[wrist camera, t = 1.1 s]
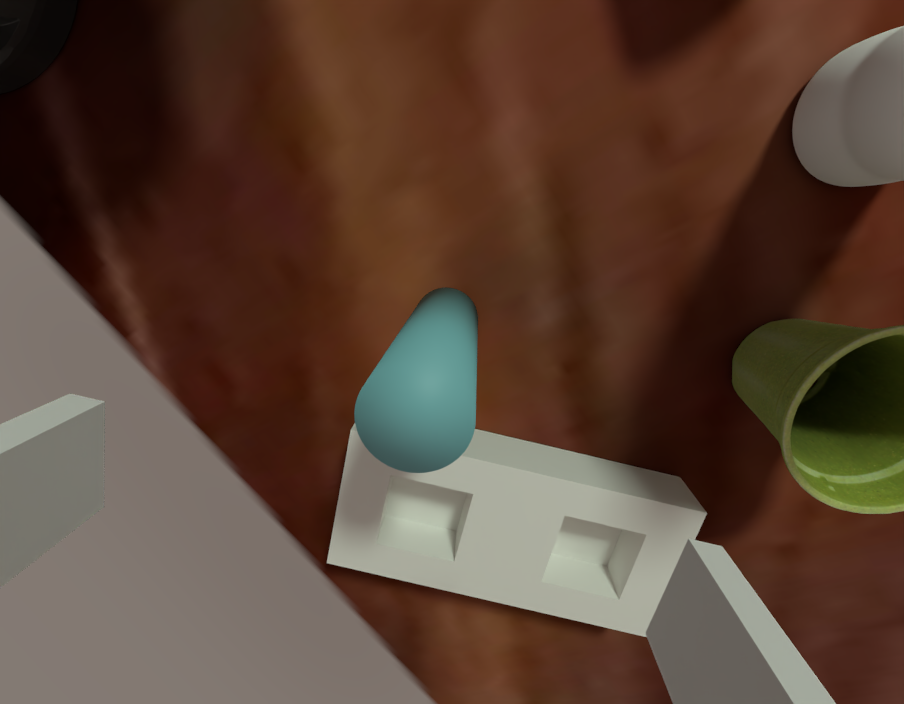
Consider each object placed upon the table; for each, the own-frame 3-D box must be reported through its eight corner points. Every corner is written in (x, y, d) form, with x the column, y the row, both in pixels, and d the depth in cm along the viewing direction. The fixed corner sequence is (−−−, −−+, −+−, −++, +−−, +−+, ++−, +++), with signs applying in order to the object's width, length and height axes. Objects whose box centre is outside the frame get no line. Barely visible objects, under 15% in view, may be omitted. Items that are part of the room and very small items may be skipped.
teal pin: (422, 281, 29) (365, 348, 15) (484, 295, 29) (488, 377, 15) (409, 341, 30) (345, 457, 16) (469, 355, 30) (459, 484, 16)
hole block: (366, 403, 32) (350, 429, 28) (680, 476, 32) (707, 513, 28) (343, 524, 35) (326, 563, 31) (630, 590, 35) (649, 637, 31)
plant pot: (778, 458, 31) (887, 548, 23) (669, 382, 30) (741, 447, 22) (892, 348, 29) (1061, 404, 20) (778, 260, 27) (906, 281, 19)
